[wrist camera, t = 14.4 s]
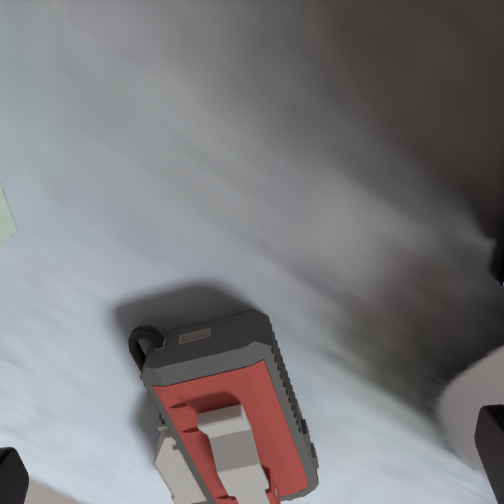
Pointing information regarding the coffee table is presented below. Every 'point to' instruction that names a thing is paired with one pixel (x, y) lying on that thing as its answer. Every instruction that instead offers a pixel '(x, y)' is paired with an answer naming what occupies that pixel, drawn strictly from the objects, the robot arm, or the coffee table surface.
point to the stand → (5, 219)
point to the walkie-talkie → (226, 413)
